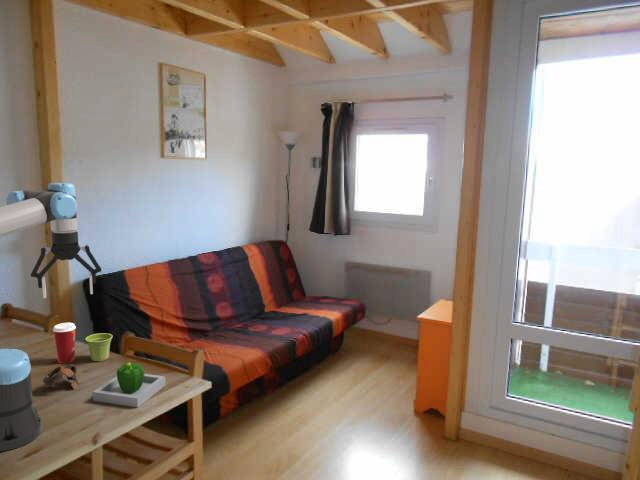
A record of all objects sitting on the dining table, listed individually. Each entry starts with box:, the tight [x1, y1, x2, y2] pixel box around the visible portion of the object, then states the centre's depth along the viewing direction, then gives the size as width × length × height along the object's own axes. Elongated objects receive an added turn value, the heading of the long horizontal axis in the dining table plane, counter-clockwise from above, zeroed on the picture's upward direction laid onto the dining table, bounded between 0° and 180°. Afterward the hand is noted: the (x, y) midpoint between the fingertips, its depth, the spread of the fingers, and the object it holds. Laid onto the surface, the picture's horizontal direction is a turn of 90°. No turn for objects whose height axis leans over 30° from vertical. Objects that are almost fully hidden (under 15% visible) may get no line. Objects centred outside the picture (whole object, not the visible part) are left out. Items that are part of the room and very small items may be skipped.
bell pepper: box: [116, 362, 145, 393], centre depth 156 cm, size 8×8×10 cm
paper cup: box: [52, 322, 77, 364], centre depth 180 cm, size 8×8×14 cm
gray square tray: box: [92, 373, 167, 408], centre depth 156 cm, size 16×16×3 cm
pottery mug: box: [42, 363, 79, 391], centre depth 160 cm, size 12×10×8 cm
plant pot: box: [85, 332, 113, 362], centre depth 182 cm, size 9×9×9 cm
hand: (68, 295), depth 155 cm, fingers open, 13 cm apart
